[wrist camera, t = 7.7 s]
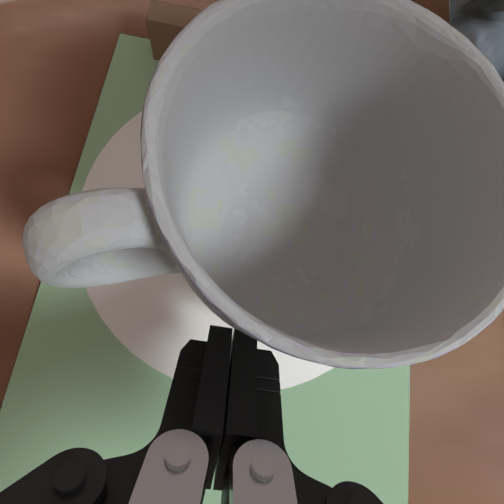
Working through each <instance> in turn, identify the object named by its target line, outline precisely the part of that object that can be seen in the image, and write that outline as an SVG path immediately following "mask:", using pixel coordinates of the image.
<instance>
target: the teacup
mask: <svg viewBox="0 0 504 504" xmlns="http://www.w3.org/2000/svg"><path fill="white" fill-rule="evenodd" d="M140 139H141V165H142V174H143V179H144V185H145V188H102V189H91V190H87V191H82V192H77V193H73V194H69V195H66V196H63V197H61V198H58V199H55V200H53V201H50V202H49V203H47V204H45V205H43V206H41V207H40V208H39V209H38V210H37V211H35V212H34V213H33V214H32V215H31V216H30V217H29V219H28V221H27V223H26V224H25V227H24V231H23V238H22V246H23V250H24V253H25V257H26V260H27V262H28V265H29V267H30V269H31V271H32V273H33V274H34V275H35V276H36V277H37V278H38V279H39V280H40V281H41V282H43V283H45V284H48V285H51V286H56V287H62V288H84V287H93V286H101V285H109V284H116V283H122V282H127V281H132V280H137V279H142V278H147V277H151V276H156V275H161V274H176V273H182V275H183V276H184V278H185V279H186V281H187V282H188V284H189V285H190V287H191V288H192V290H193V291H194V292H195V293H196V295H197V296H198V297H199V298H200V299H201V301H202V302H203V303H204V304H205V305H206V306H207V307H208V308H209V309H210V310H211V311H212V312H213V313H214V314H216V315H217V316H218V317H219V318H220V319H221V320H222V321H224V322H225V323H227V324H228V325H230V326H231V327H232V328H235V329H237V330H239V331H241V332H242V333H244V334H246V335H248V336H250V337H252V338H254V339H256V340H257V341H259V342H261V343H263V344H265V345H266V346H268V347H270V348H272V349H274V350H277V351H279V352H282V353H284V354H287V355H290V356H292V357H295V358H299V359H302V360H306V361H310V362H314V363H318V364H323V365H327V366H331V367H336V368H344V369H382V368H396V367H401V366H406V365H411V364H416V363H420V362H424V361H427V360H430V359H433V358H436V357H439V356H441V355H443V354H445V353H447V352H450V351H452V350H454V349H456V348H458V347H460V346H462V345H463V344H464V343H466V342H467V341H469V340H470V339H471V338H473V337H474V336H476V335H477V334H478V333H479V332H481V331H482V330H483V329H484V328H486V327H487V326H488V325H489V324H490V323H491V322H492V321H493V320H494V319H495V318H496V317H497V316H498V315H499V314H500V313H501V312H502V311H503V309H504V82H503V81H502V79H501V77H500V76H499V74H498V72H497V71H496V69H495V67H494V66H493V64H492V63H491V62H490V61H489V60H488V59H487V58H486V57H485V56H484V55H483V54H482V53H481V52H480V51H479V50H478V49H477V48H476V47H475V46H474V44H473V43H472V42H471V41H470V40H469V39H468V38H466V37H465V36H464V35H463V34H461V33H460V32H459V31H457V30H456V29H455V28H454V27H452V26H451V25H450V24H448V23H447V22H446V21H444V20H443V19H442V18H441V17H439V16H438V15H436V14H435V13H433V12H431V11H430V10H428V9H426V8H424V7H422V6H420V5H419V4H417V3H415V2H413V1H411V0H219V1H217V2H215V3H213V4H211V5H210V6H208V7H207V8H205V9H204V10H203V11H201V12H200V13H198V14H197V15H196V16H195V17H194V18H193V19H192V20H191V21H190V22H189V24H188V25H187V26H186V27H185V28H184V29H183V30H182V31H181V32H180V33H179V34H178V35H177V36H176V37H175V38H174V39H173V41H172V42H171V44H170V45H169V46H168V48H167V49H166V51H165V52H164V54H163V56H162V57H161V59H160V60H159V62H158V65H157V68H156V70H155V72H154V74H153V76H152V78H151V80H150V82H149V86H148V90H147V93H146V97H145V102H144V107H143V112H142V119H141V131H140Z"/></svg>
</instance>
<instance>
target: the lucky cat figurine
mask: <svg viewBox="0 0 504 504" xmlns="http://www.w3.org/2000/svg"><path fill="white" fill-rule="evenodd" d="M449 24H450V25H451V26H452V27H454V28H455V29H456V30H457V31H459V32H460V33H461V34H463V35H464V36H465V37H466V38H468V39H469V40H470V41H471V42H472V43H473V44H474V46H475V47H476V48H477V49H478V50H479V51H480V52H481V53H482V54H483V55H484V56H485V57H486V58H487V59H488V60H489V61H490V62H491V63H492V64H493V66H494V67H495V69H496V71H497V72H498V74H499V76H500V77H501V79H502V81H503V82H504V0H449Z"/></svg>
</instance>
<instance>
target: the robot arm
mask: <svg viewBox="0 0 504 504" xmlns="http://www.w3.org/2000/svg"><path fill="white" fill-rule="evenodd" d="M232 332H233V328H228V327H221V326H215V325H210V329H209V334H208V340H207V341H200V340H193V339H190V340H189V341H188V343H187V344H186V345H185V346H184V347H183V348H182V349H181V350H180V354H179V358H178V361H177V366H176V369H175V373H174V376H173V380H172V384H171V388H170V391H169V395H168V399H167V403H166V406H165V410H164V414H163V418H162V421H161V425H160V428H159V430H158V432H157V434H156V436H155V437H154V438H153V440H152V441H151V442H150V443H149V444H147V445H146V446H145V447H144V448H142V449H140V450H138V451H136V452H134V453H131V454H128V455H124V456H119V457H114V458H109V459H104V460H103V458H102V457H101V456H100V455H99V454H98V453H97V452H95V451H94V450H91V449H88V448H71V449H68V450H65V451H62V452H60V453H58V454H56V455H55V456H53V457H51V458H50V459H48V460H47V461H45V462H44V463H43V464H41V465H40V466H38V467H37V468H35V469H34V470H32V471H31V472H29V473H28V474H26V475H25V476H23V477H22V478H20V479H19V480H17V481H16V482H14V483H13V484H12V485H10V486H9V487H7V488H6V489H4V490H3V491H1V492H0V504H203V500H204V495H205V490H206V489H209V490H211V485H212V481H213V476H214V471H215V476H214V485H213V490H220V491H222V495H221V504H383V503H382V501H381V500H380V499H379V498H378V497H377V496H376V495H375V494H374V493H373V492H372V491H371V490H369V489H368V488H367V487H365V486H363V485H361V484H359V483H356V482H352V481H344V482H340V483H338V484H336V485H335V486H334V487H333V488H332V487H330V486H328V485H326V484H324V483H322V482H320V481H318V480H315V479H313V478H311V477H309V476H308V475H306V474H304V473H303V472H302V471H300V470H299V469H298V468H297V467H296V466H295V465H294V463H293V462H292V461H291V459H290V458H289V456H288V454H287V452H286V449H285V445H284V435H283V421H282V406H281V394H280V382H279V380H280V376H279V364H278V362H277V360H276V359H275V357H274V355H273V353H272V351H269V350H262V349H257V340H256V339H254V338H252V337H250V336H248V335H246V334H244V333H242V332H241V331H239V330H237V329H235V328H234V332H233V336H232Z"/></svg>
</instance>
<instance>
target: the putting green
mask: <svg viewBox="0 0 504 504" xmlns="http://www.w3.org/2000/svg"><path fill="white" fill-rule="evenodd" d="M201 11H203V10H198V9H194V8H189V7H184V6H180V5H175V4H170V3H166V2H161V1H156V0H152V1H151V4H150V8H149V11H148V14H147V18H146V22H147V27H148V32H149V38H150V39H145V38H140V37H136V36H131V35H126V34H121V33H120V36H119V39H118V42H117V45H116V48H115V51H114V54H113V58H112V61H111V64H110V67H109V70H108V73H107V76H106V80H105V83H104V86H103V89H102V92H101V95H100V98H99V102H98V105H97V108H96V111H95V114H94V117H93V120H92V124H91V127H90V130H89V133H88V136H87V139H86V142H85V145H84V149H83V152H82V155H81V158H80V161H79V164H78V167H77V171H76V174H75V177H74V180H73V183H72V186H71V189H70V193H69V194H73V193H77V192H82V191H87V190H91V189H102V188H145V185H144V179H143V174H142V165H141V139H140V131H141V119H142V112H143V107H144V102H145V97H146V93H147V90H148V86H149V82H150V80H151V78H152V76H153V74H154V72H155V70H156V68H157V65H158V62H159V60H160V59H161V57H162V56H163V54H164V52H165V51H166V49H167V48H168V46H169V45H170V44H171V42H172V41H173V39H174V38H175V37H176V36H177V35H178V34H179V33H180V32H181V31H182V30H183V29H184V28H185V27H186V26H187V25H188V24H189V22H190V21H191V20H192V19H193V18H194V17H195V16H196V15H197V14H198V13H200V12H201ZM210 325H215V326H221V327H228V328H232V327H231V326H230V325H228V324H227V323H225V322H224V321H222V320H221V319H220V318H219V317H218V316H217V315H216V314H214V313H213V312H212V311H211V310H210V309H209V308H208V307H207V306H206V305H205V304H204V303H203V302H202V301H201V299H200V298H199V297H198V296H197V295H196V293H195V292H194V291H193V290H192V288H191V287H190V285H189V284H188V282H187V281H186V279H185V278H184V276H183V275H182V273H176V274H161V275H156V276H151V277H147V278H142V279H137V280H132V281H127V282H122V283H116V284H109V285H101V286H93V287H84V288H62V287H56V286H51V285H48V284H45V283H43V282H41V284H40V287H39V290H38V293H37V296H36V299H35V303H34V306H33V309H32V312H31V315H30V318H29V321H28V325H27V328H26V331H25V334H24V337H23V340H22V343H21V347H20V350H19V353H18V356H17V359H16V362H15V365H14V369H13V372H12V375H11V378H10V381H9V384H8V387H7V391H6V394H5V397H4V400H3V403H2V406H1V409H0V492H1V491H3V490H4V489H6V488H7V487H9V486H10V485H12V484H13V483H14V482H16V481H17V480H19V479H20V478H22V477H23V476H25V475H26V474H28V473H29V472H31V471H32V470H34V469H35V468H37V467H38V466H40V465H41V464H43V463H44V462H45V461H47V460H48V459H50V458H51V457H53V456H55V455H56V454H58V453H60V452H62V451H65V450H68V449H71V448H88V449H91V450H94V451H95V452H97V453H98V454H99V455H100V456H101V457H102V458H103V460H104V459H109V458H114V457H119V456H124V455H128V454H131V453H134V452H136V451H138V450H140V449H142V448H144V447H145V446H146V445H147V444H149V443H150V442H151V441H152V440H153V438H154V437H155V436H156V434H157V432H158V430H159V428H160V425H161V421H162V418H163V414H164V410H165V406H166V403H167V399H168V395H169V391H170V388H171V384H172V380H173V376H174V373H175V369H176V366H177V361H178V358H179V354H180V350H181V349H182V348H183V347H184V346H185V345H186V344H187V343H188V341H189V340H190V339H193V340H200V341H207V340H208V334H209V329H210ZM233 332H234V328H233ZM233 332H232V336H233ZM257 349H262V350H269V351H272V353H273V355H274V357H275V359H276V360H277V362H278V364H279V376H280V380H279V382H280V394H281V406H282V421H283V435H284V445H285V449H286V452H287V454H288V456H289V458H290V459H291V461H292V462H293V463H294V465H295V466H296V467H297V468H298V469H299V470H300V471H302V472H303V473H304V474H306V475H308V476H309V477H311V478H313V479H315V480H318V481H320V482H322V483H324V484H326V485H328V486H330V487H332V488H333V487H334V486H335V485H336V484H338V483H340V482H344V481H352V482H356V483H359V484H361V485H363V486H365V487H367V488H368V489H369V490H371V491H372V492H373V493H374V494H375V495H376V496H377V497H378V498H379V499H380V500H381V501H382V503H383V504H408V466H409V399H410V365H406V366H401V367H396V368H382V369H344V368H336V367H331V366H327V365H323V364H318V363H314V362H310V361H306V360H302V359H299V358H295V357H292V356H290V355H287V354H284V353H282V352H279V351H277V350H274V349H272V348H270V347H268V346H266V345H265V344H263V343H261V342H259V341H257ZM214 476H215V471H214ZM214 476H213V481H212V485H211V490H209V489H206V490H205V495H204V500H203V504H221V495H222V491H220V490H213V485H214Z"/></svg>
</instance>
